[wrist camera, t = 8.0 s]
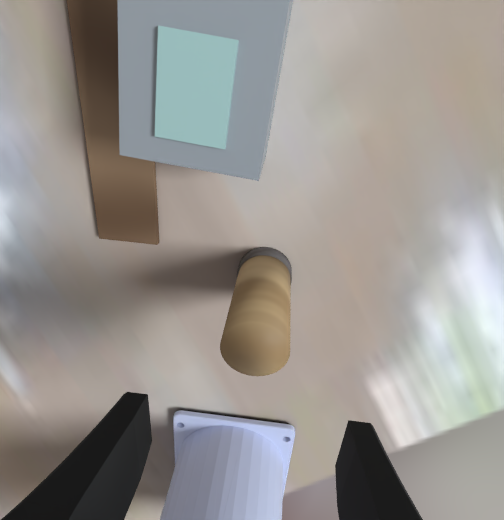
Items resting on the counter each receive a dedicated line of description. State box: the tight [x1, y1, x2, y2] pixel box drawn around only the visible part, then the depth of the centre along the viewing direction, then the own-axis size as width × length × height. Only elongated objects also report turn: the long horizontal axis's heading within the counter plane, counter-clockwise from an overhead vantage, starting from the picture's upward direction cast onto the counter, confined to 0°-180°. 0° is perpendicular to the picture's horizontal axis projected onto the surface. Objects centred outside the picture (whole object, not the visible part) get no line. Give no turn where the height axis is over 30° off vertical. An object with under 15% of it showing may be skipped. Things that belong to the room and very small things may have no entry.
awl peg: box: [220, 247, 292, 376], centre depth 16 cm, size 3×3×6 cm
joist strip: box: [67, 0, 159, 245], centre depth 15 cm, size 16×3×1 cm, turn 176°
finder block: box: [118, 0, 293, 181], centre depth 13 cm, size 8×5×4 cm, turn 171°
